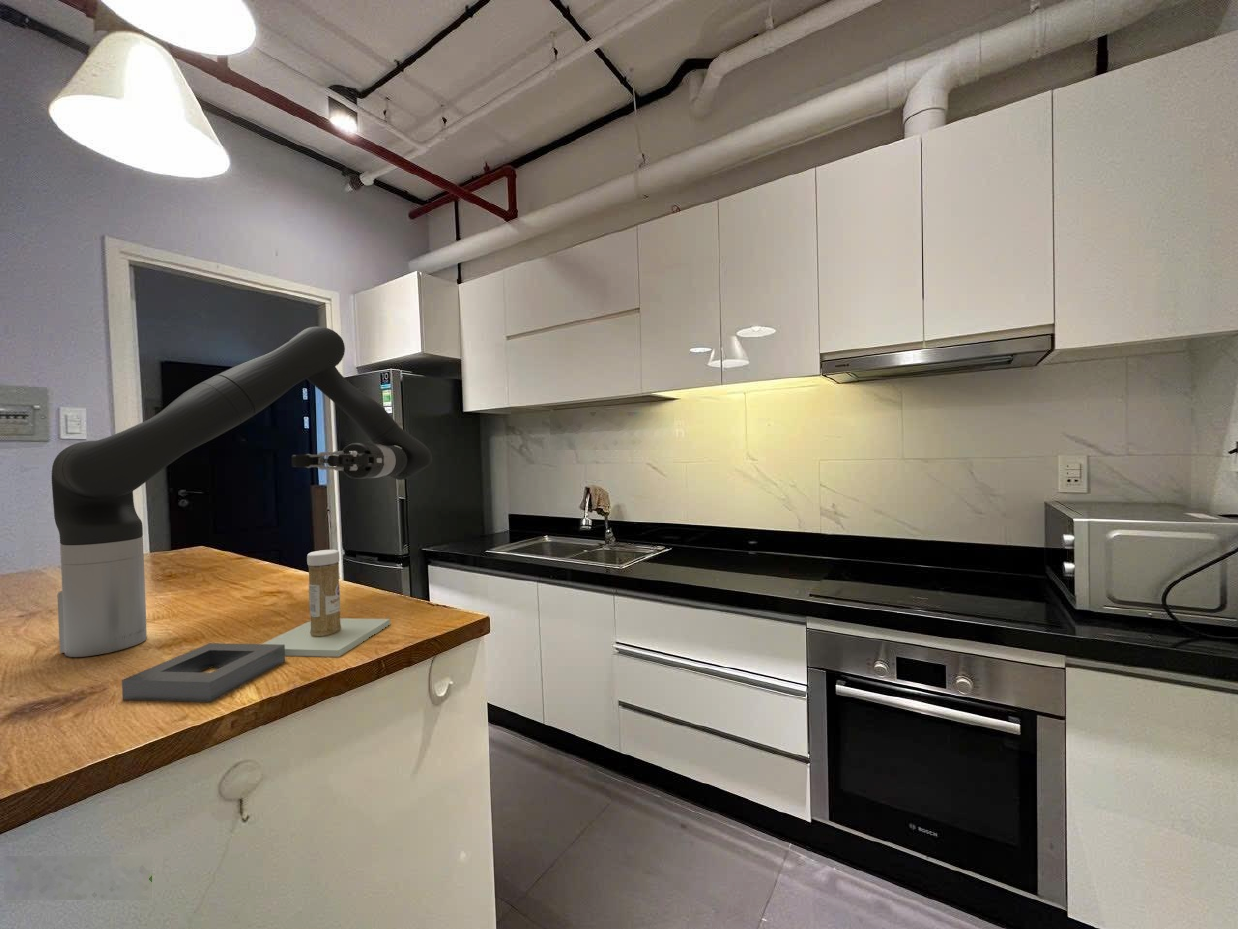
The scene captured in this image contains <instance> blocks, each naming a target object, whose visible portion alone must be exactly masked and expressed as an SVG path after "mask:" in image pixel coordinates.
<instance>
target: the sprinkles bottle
mask: <svg viewBox="0 0 1238 929" xmlns="http://www.w3.org/2000/svg"><path fill="white" fill-rule="evenodd" d="M306 562H307V563H306V564H307V565H308V566H307V567H308V580H309V581H308V596H309V597H308V600H309V601H308V602H309V616H310V621H311V631H310V634H311V635H313V636H327V635H331V634H333V633H336V632H338V631H339V630H341V625H340V618H341V597H340V596H341V594H340V589H341V588H340V577H339V576H340V575H339V574H340V573H339V564H340V563H339V562H340V551H339V550H338V549H322V550H316V551H311V552H309V553H308V554H307V556H306Z"/></svg>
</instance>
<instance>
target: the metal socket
mask: <svg viewBox="0 0 1238 929" xmlns="http://www.w3.org/2000/svg"><path fill="white" fill-rule="evenodd" d="M285 662H286V656H285V645H278V644H263V643H223V642H222V643H218V642H216V643H215V642H214V643H213V642H212V643H211V642H209V643H207V644H205V645H202V646H199V647H196V648H195V649H193V650H190V651H188V652H185V653H183V654H180V655H178V656H176V657H173V658H171V659H169V660H168V659H167V660H166V661H163V662H160V663H159V664H157V665H154V666H151V667H149V668H148V669H144V670H142V671H140V672H137V673H135V674H133V675H130V676H128V677H126V678H122V679H121V689H122V690H121V692H122V693H121V694H122V700H123V701H125V700H126V701H154V702H155V701H156V702H157V701H159V702H187V703H212V702H215V701H216V700H218V699H219V698H221V697H224V696H225V695H227V694H229V693H231V692H232V691H234V690H237V689H238V688H239V687H242V686H243V685H245V684H247V683H248V682H251V681H252V680H254V679H256V678H258V677H260V676H262V675H264V674H265V673H267V672H269V671H271V670H273V669H274V668H277V667H278V666H280V665H281V664H284V663H285ZM210 668H217V669H215V670H213V671H210V672H203V671H206V670H207V669H210ZM261 674H262V675H261ZM250 680H251V681H250Z"/></svg>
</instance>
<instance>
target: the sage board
mask: <svg viewBox="0 0 1238 929" xmlns="http://www.w3.org/2000/svg"><path fill="white" fill-rule="evenodd" d="M340 625H341V630H339V631H338V632H336V633H333V634H331V635H327V636H313V635H311V634H310V631H311V620H309V621H307V622H304V623H303V624H300V625H299V626H297V627H294V628H292V629H290V630H288V631H287V632H286V631H285V632H283V633H281V634H279V635H278V636H275V637H273V638H271V639H269V640H267V641H265V642H263V643H262V644H278V645H285V657H286V656H287V657H288V656H289V657H326V658H327V657H330V658H340V657H341V656H342V655H344V654H346V653H347V652H349V651H350V650H353V649H354V648H356V647H357V646H359V645H360V644H362V643H363V641H364V642H365V641H366V640H367V641H368V639H370V638H372V637H373V636H375V635H376V634H378V633H379V632H381V631H383V630H384V629H386V628H387V627H389V626H390V625H391V619H390V618H351V617H350V618H343V617H342V618H341V617H340ZM388 625H389V626H388ZM385 627H386V628H385ZM382 629H383V630H382ZM374 634H375V635H374ZM372 635H373V636H372ZM371 636H372V637H371ZM369 637H370V638H369Z"/></svg>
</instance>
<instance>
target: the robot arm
mask: <svg viewBox="0 0 1238 929" xmlns="http://www.w3.org/2000/svg"><path fill="white" fill-rule="evenodd" d="M345 352H346V345H345V342H344V340H343V338H342V337H341V336H340V334H339V333H338V332H336V331H335V330H333V329H332V328H329V327H324V326H310V327H307V328H304V329H303V330H302V331H300V332H298V333H297V334H296V335H295V336H293V337H292V338H290V339H289V340H288V341H287V342H286V343H284V344H282V345H280V346H279V347H277V348H276V349H274V350H272V351H270V352H268V353H266V354H263V355H260V356H258V357H256V358H253V359H250V360H248V361H245V362H242V363H240V364H237V365H235V366H233V367H231V368H229V369H226V370H224V371H222V372H220V373H217V374H215V375H214V376H212V377H209V378H208V379H206V380H203V381H202V382H200V383H198V384H196V385H194V386H193V387H191V388H189V389H187V390H186V391H184V392H183V393H182V394H180V395H179V396H178V397H177V398H175V399H174V400H173V401H172V402H171V403H169V404H168V405H167V406H165V408H163V409H162V410H161V411H160V412H158V413H157V414H156V415H154V416H152V417H151V418H148V419H146V420H145V421H143V422H141V423H138V424H135V425H134V426H131V427H129V428H127V429H125V430H122V431H120V432H117V433H115V434H113V435H110V436H107V437H105V438H102V439H97V440H87V441H81V442H77V443H74V444H71V445H68V446H67V447H66V448H64V449H62V450H61V451H60V452H59V453H58V454H57V455H56V456H55V459H54V460H53V463H52V466H51V489H52V506H53V516H54V517H53V518H54V522H55V526H56V527H57V530H58V533H59V534H58V535H59V546H60V548H59V549H60V569H61V571H60V572H61V591H59V592H58V593H57V616H58V617H57V618H58V619H57V620H58V643H59V653H64V656H66V657H70V658H81V657H82V658H83V657H91V656H97V655H104V654H109V653H110V654H111V653H112V652H117V651H121V650H125V649H128V648H131V647H134V646H137V645H139V644H141V643H143V642H145V641H146V640H147V638H148V636H147V635H148V633H147V608H146V607H147V605H146V604H147V603H146V584H145V583H146V582H145V581H146V578H145V553H144V536H143V535H144V529H143V528H144V527H143V522H142V520H141V518H140V517H139V515H138V513H137V510H136V508H135V504H134V503H135V502H134V491H136V490H137V489H138V488H140V487H142V485H144V484H145V483H147V481H149V480H150V479H152V478H153V477H154V476H155V475H157V474H159V473H160V472H161V471H162V470H164V469H165V468H166V467H168V466H169V465H170V464H172V463H173V462H175V461H176V460H177V459H179V458H180V457H182V456H183V455H184V454H186V453H189V452H190V451H192V450H194V449H196V448H199V447H200V446H201V445H204V444H206V443H207V442H209V441H211V440H213V439H216V438H217V437H219V436H220V435H223V434H225V433H226V432H228V431H231V430H233V428H235V427H237V426H239V425H241V424H242V423H244V422H246V421H248V420H249V419H250V418H252V417H254V416H255V415H257V414H258V413H260V412H262V411H263V410H264V409H266V408H267V407H268V406H270V405H272V404H273V403H274V402H276V401H277V400H278V399H280V398H281V397H282V396H283V395H285V394H286V393H287V392H288V391H289V390H291V389H292V388H293V387H294V386H296V385H297V384H299V383H301V382H302V381H304V380H306V381H308V382H309V383H311V384H312V386H314V387H315V388H317V389H318V390H319V391H320V392H321V393H322V394H323V395H325V396H326V397H327V398H328V399H329V400H330V401H332V402H333V403H334V404H335V405H336V406H337V407H339V409H340V410H342V411H343V412H344V413H345V414H346V415H347V416H348V417H349V418H350V419H351V420H352V422H354V423H355V424H356V426H358V427H359V429H360V430H361V431H362V432H363V433H364V434H365V435H366V437H367V438H368V439H369V440H370V441H371V442H372V443H370V442H369V443H367V442H352V443H350V444H347V445H346V446H345V447H344V448H343V449H342V450H337V451H336V450H335V451H333V452H332V451H319V452H318V453H317V454H310V453H306V454H304V453H301V454H292V456H291V467H292V468H301V469H305V468H307V469H311V468H318V470H322V471H324V470H325V471H326V470H333V471H340V472H341V471H342V472H343V474H344V475H346V476H347V477H349V478H351V479H355V480H356V479H357V480H358V479H359V480H362V479H376V478H377V479H378V478H381V477H390V478H393V479H395V480H398V481H403V480H406V479H409V478H411V477H413V476H414V475H416V474H417V473H419V472H421V471H423V470H424V469H426V468H427V467H429V466H430V465H431V464H432V462H433V457H432V453H431V450H430V449H429V448H428V447H427V446H426V445H425V444H424V443H423V442H422V441H420V440H419V439H417V438H416V437H414V436H413V435H411V434H410V433H409V432H408V431H406V430H405V429H403V428H402V427H401V426H400V425H399V424H398V423H397V422H396V421H395V419H394V418H393V417H392V416H391V414H389V412H388V411H387V410H386V409H385V408H384V407H383V405H381V404H380V403H378V402H377V401H376V400H374V399H373V398H371V397H370V396H368V395H367V394H366V393H364V392H362V391H361V390H359V389H358V388H356V387H355V386H354V385H353V384H351V382H349V381H348V380H347V379H346V378H345V377H344V375H342V374H341V372H340V371H339V369H338V368H337V366H338V365H339V364H340V363H341V361H342V360H343V358H344V356H345ZM325 456H327V458H325ZM326 464H327V465H328V466H325V465H326Z"/></svg>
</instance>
